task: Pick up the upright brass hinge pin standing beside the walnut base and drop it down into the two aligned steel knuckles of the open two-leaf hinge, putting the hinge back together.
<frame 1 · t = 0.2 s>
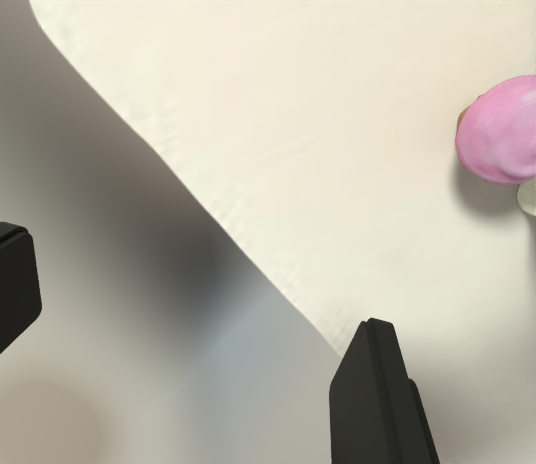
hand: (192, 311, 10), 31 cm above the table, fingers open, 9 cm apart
cupcake: (482, 118, 35), on the table
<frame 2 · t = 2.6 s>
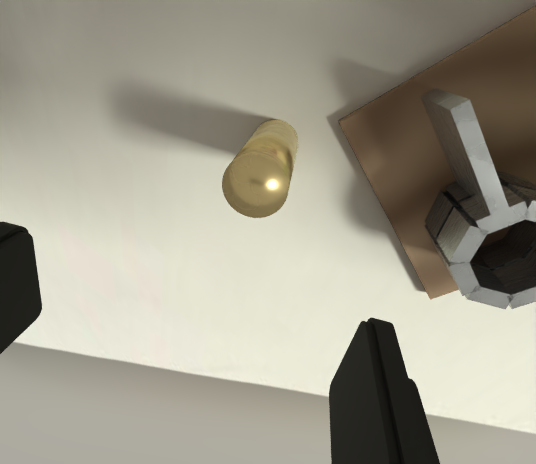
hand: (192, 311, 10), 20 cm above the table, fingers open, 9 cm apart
hinge: (478, 218, 27), resting on hinge base
hinge pin: (275, 143, 27), on the table
hinge base: (473, 212, 28), on the table
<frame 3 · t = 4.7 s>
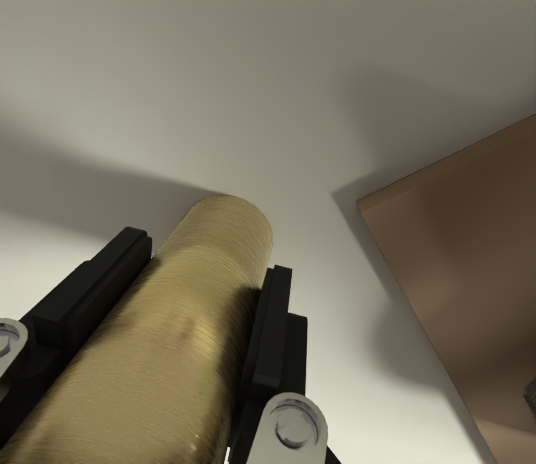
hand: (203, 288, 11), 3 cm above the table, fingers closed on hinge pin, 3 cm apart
hinge pin: (227, 237, 13), on the table, touching gripper
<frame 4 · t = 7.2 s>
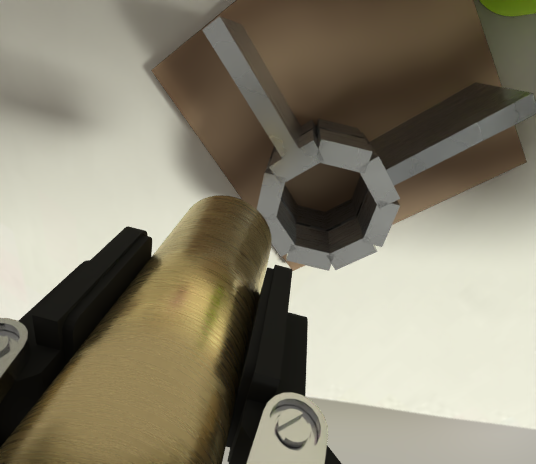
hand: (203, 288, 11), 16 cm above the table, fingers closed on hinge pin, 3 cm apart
hinge: (321, 176, 24), resting on hinge base
hinge pin: (226, 238, 13), point 13 cm above the table, touching gripper
hinge base: (321, 172, 25), on the table
when the fingers open (9 cm above the table, at t = 9.9 s): hinge pin drops 4 cm, resting on hinge base.
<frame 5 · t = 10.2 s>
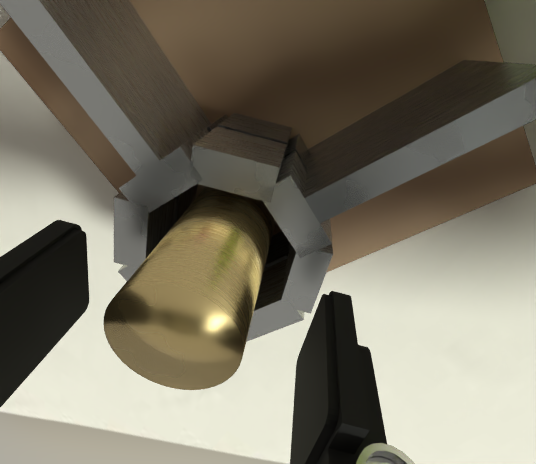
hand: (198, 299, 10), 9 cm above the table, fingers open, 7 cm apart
hinge: (247, 195, 17), resting on hinge base
hinge pin: (245, 194, 17), point 1 cm above the table, touching hinge base
hinge base: (250, 188, 18), on the table
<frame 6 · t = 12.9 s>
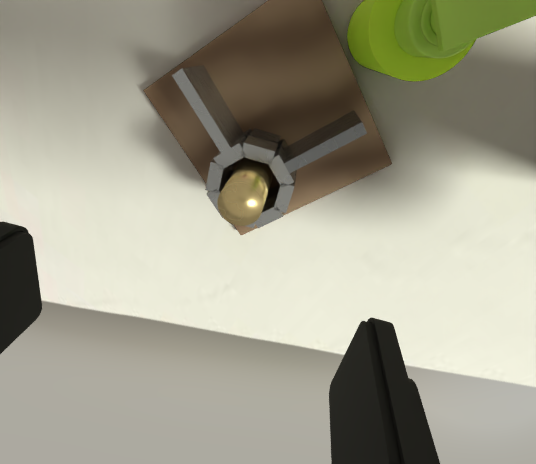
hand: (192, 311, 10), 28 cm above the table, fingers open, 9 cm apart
soap dispenser: (387, 29, 30), on the table
hinge: (258, 167, 36), resting on hinge base
hinge pin: (257, 167, 36), point 1 cm above the table, touching hinge base
hinge base: (259, 164, 36), on the table
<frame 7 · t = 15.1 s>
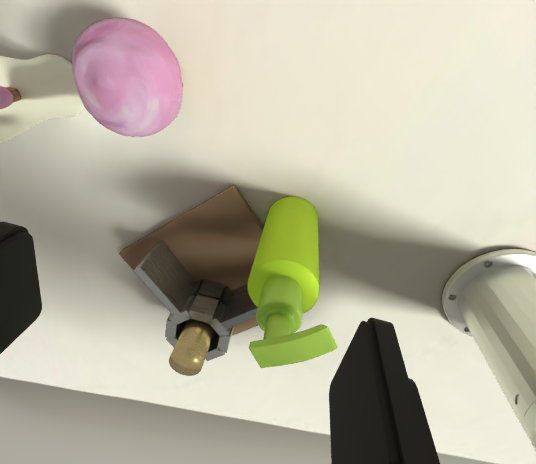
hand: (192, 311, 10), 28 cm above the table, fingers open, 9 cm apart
cupcake: (161, 76, 34), on the table
soap dispenser: (296, 217, 39), on the table
hinge: (210, 303, 46), resting on hinge base
beer glass: (60, 86, 36), on the table
hinge pin: (210, 303, 46), point 1 cm above the table, touching hinge base
hinge base: (212, 298, 46), on the table
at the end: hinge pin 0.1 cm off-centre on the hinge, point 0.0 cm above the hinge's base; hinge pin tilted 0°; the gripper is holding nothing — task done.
